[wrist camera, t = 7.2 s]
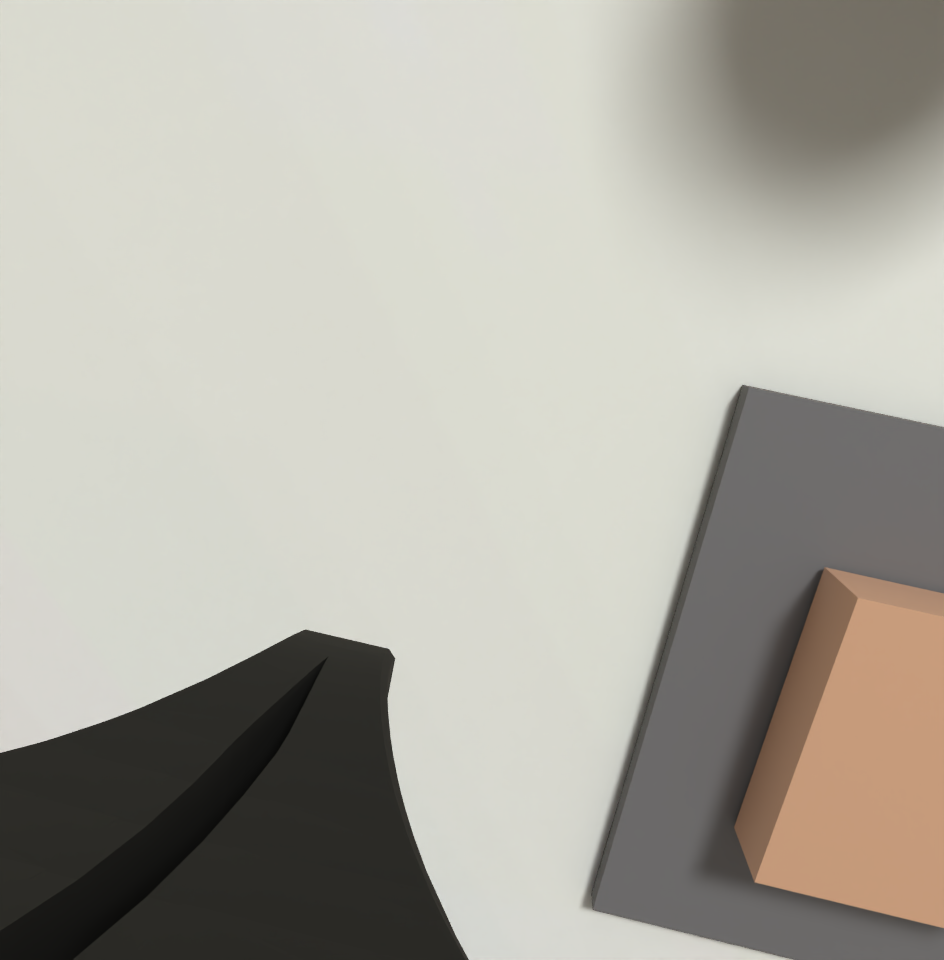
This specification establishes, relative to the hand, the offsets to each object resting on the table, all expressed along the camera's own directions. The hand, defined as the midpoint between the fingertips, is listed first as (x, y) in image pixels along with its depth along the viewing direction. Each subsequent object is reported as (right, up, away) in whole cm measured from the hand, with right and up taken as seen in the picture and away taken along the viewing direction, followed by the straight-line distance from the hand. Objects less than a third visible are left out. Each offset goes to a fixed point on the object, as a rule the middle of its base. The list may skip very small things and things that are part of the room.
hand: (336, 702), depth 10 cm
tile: (+10, -3, +8) cm, 13 cm away
